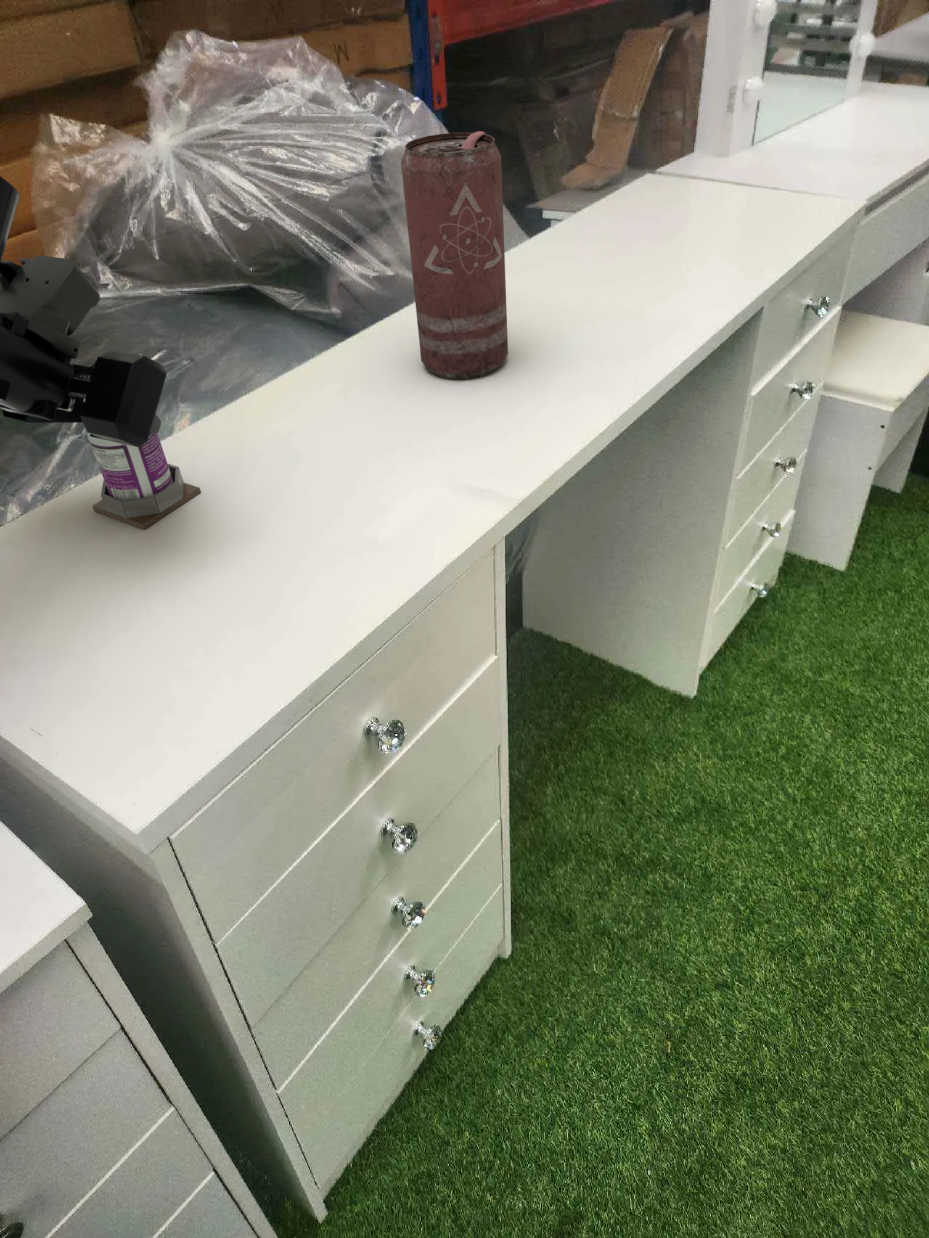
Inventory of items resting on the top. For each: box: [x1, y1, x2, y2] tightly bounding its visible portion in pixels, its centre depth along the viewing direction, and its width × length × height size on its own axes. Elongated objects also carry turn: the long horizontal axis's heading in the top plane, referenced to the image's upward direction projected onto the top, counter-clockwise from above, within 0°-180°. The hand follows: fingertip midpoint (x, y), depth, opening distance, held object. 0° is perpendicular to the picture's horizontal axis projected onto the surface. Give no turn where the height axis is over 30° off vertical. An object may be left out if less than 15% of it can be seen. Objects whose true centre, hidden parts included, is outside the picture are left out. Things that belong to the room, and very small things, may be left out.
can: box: [400, 130, 509, 380], centre depth 88 cm, size 9×10×22 cm
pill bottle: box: [84, 398, 173, 501], centre depth 73 cm, size 5×5×10 cm
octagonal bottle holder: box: [91, 462, 202, 530], centre depth 76 cm, size 7×7×2 cm
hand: (132, 421), depth 73 cm, fingers closed on pill bottle, 5 cm apart
